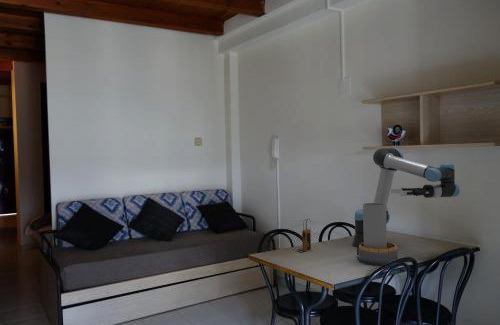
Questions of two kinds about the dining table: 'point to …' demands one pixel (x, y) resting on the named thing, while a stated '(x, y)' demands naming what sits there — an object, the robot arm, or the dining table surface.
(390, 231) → the dining table surface
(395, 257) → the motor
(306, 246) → the multimeter
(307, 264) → the dining table surface
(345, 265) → the dining table surface
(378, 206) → the cylinder vase
